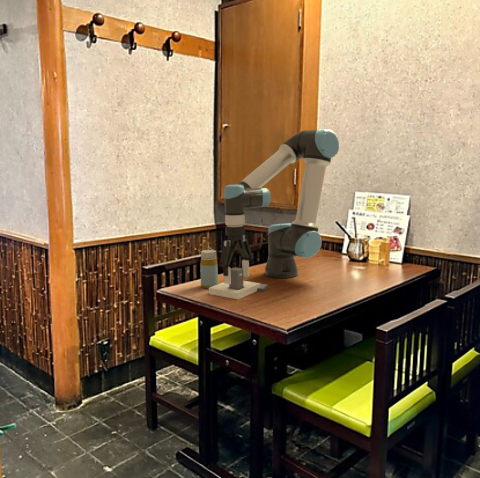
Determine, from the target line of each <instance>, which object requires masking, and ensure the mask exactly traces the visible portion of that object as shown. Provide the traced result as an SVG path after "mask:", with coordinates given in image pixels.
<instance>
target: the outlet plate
mask: <svg viewBox="0 0 480 478" xmlns="http://www.w3.org/2000/svg"><path fill="white" fill-rule="evenodd" d="M261 284H262V283H260V282H253V281H246V280H243V288H242V289H240V290H234V289H229V284H225V283H224V281H223V282H221V283H218V285H215V286H212V287H210V288H209V289H208V295H212V296H218V297H223V298H229V299H234V300H240V299H242V298H244V297H246V296H247V297H248V296H249V295H251V294H253V293H255V292H258V291H257V288H259V287H261Z"/></svg>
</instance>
